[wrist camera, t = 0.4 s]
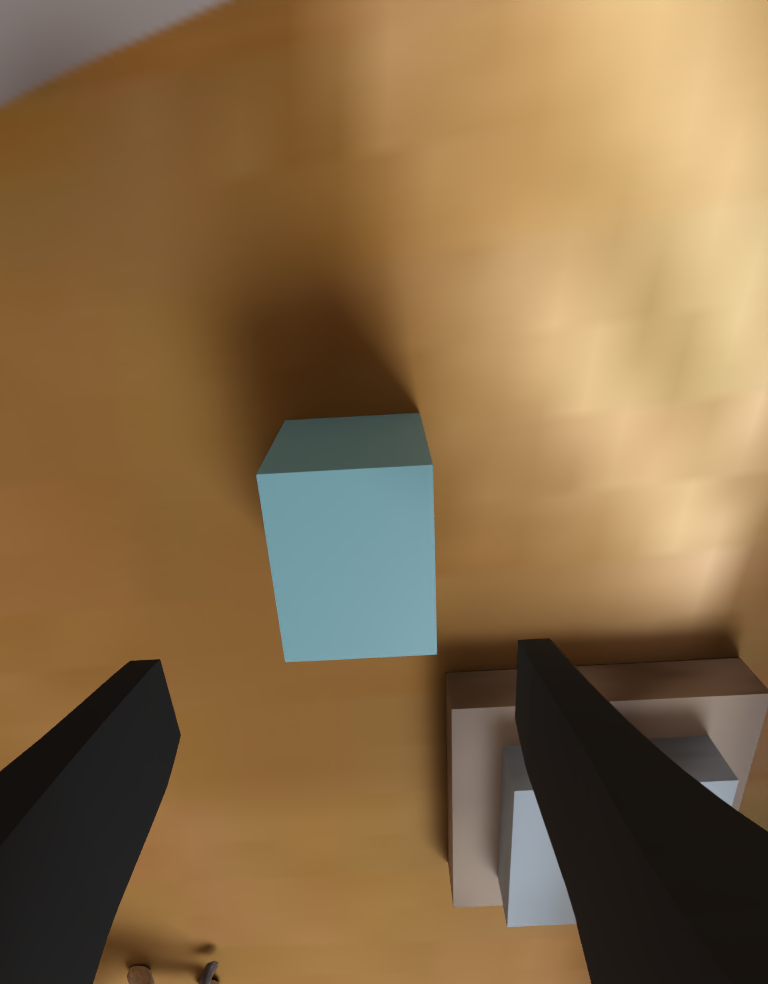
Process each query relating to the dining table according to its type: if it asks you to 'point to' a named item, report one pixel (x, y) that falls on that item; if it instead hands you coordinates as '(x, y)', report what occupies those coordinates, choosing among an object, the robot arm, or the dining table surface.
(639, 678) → the tower base
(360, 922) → the dining table surface
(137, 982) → the lion figurine
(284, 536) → the teal brick
